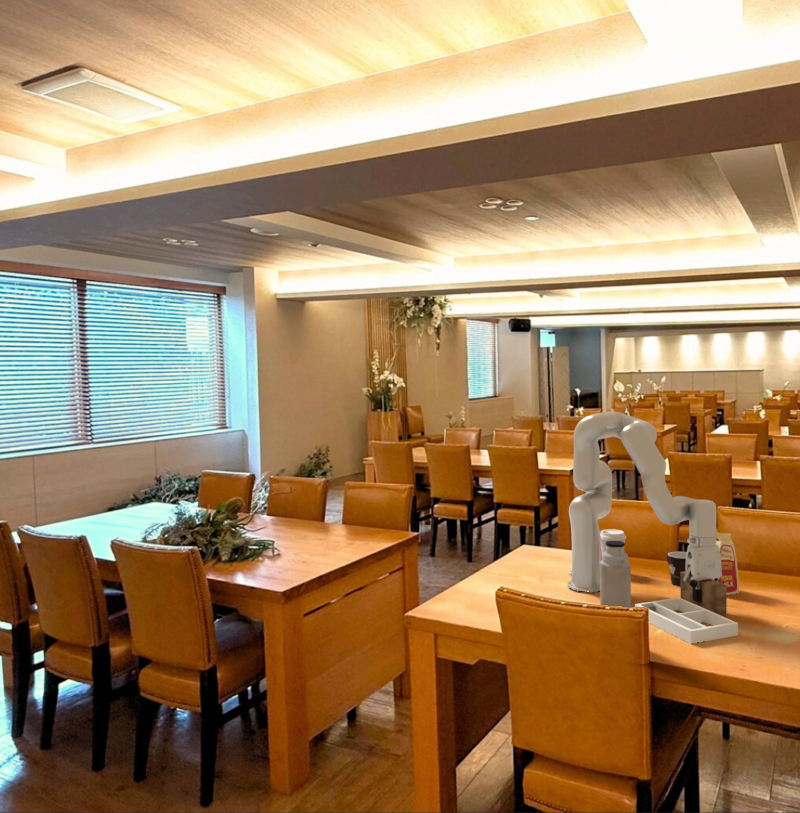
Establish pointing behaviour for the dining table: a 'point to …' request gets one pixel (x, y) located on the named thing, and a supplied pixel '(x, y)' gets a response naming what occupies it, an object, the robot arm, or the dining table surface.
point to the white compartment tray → (689, 620)
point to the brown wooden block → (707, 595)
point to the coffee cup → (611, 537)
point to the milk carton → (728, 563)
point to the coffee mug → (676, 566)
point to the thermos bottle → (615, 576)
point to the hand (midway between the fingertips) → (702, 599)
